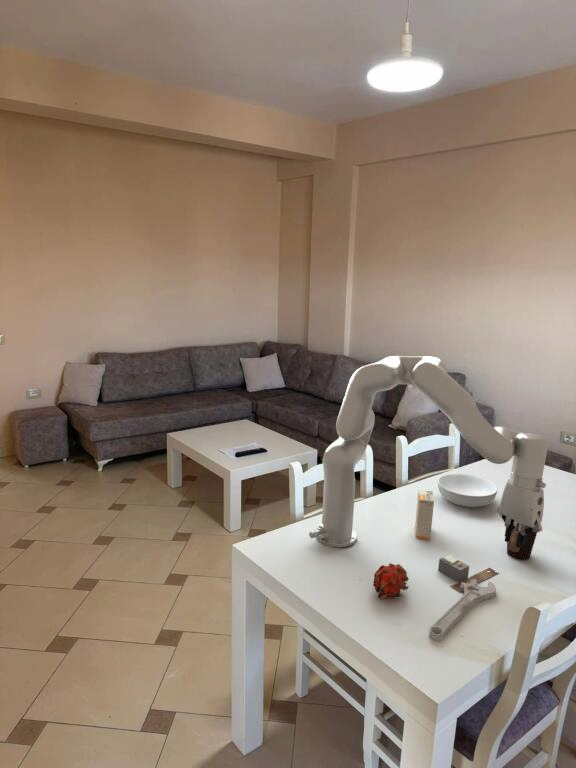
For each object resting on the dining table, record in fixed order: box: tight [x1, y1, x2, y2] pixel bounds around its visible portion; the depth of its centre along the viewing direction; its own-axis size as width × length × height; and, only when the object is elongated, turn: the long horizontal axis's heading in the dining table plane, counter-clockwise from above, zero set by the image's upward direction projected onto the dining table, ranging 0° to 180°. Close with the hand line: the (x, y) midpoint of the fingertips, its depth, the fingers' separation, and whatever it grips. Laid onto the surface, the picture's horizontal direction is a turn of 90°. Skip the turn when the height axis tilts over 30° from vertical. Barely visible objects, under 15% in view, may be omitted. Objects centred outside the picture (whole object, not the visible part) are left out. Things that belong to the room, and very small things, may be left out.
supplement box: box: [414, 489, 435, 540], centre depth 172 cm, size 8×5×13 cm, turn 168°
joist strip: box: [450, 567, 498, 593], centre depth 149 cm, size 17×3×1 cm, turn 125°
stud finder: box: [437, 554, 470, 583], centre depth 150 cm, size 4×7×4 cm, turn 35°
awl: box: [508, 523, 520, 552], centre depth 145 cm, size 3×3×8 cm
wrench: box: [428, 579, 497, 642], centre depth 135 cm, size 8×2×30 cm
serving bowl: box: [437, 473, 499, 508], centre depth 197 cm, size 21×21×7 cm
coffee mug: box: [506, 520, 538, 561], centre depth 162 cm, size 12×9×10 cm
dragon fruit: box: [372, 562, 409, 600], centre depth 140 cm, size 8×8×12 cm
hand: (514, 542), depth 146 cm, fingers closed on awl, 2 cm apart
